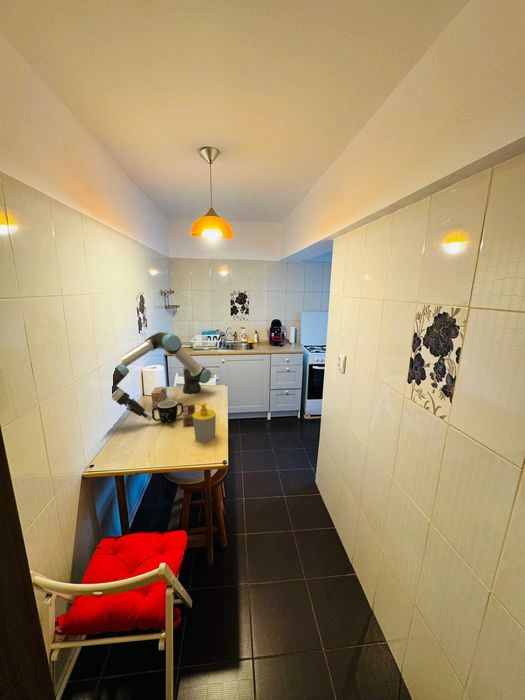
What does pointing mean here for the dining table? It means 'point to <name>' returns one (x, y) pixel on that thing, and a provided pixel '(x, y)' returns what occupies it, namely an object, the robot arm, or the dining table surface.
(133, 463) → the dining table surface
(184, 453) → the dining table surface
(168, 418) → the mug
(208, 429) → the soap bottle
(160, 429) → the dining table surface
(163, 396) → the stack of blocks
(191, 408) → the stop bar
